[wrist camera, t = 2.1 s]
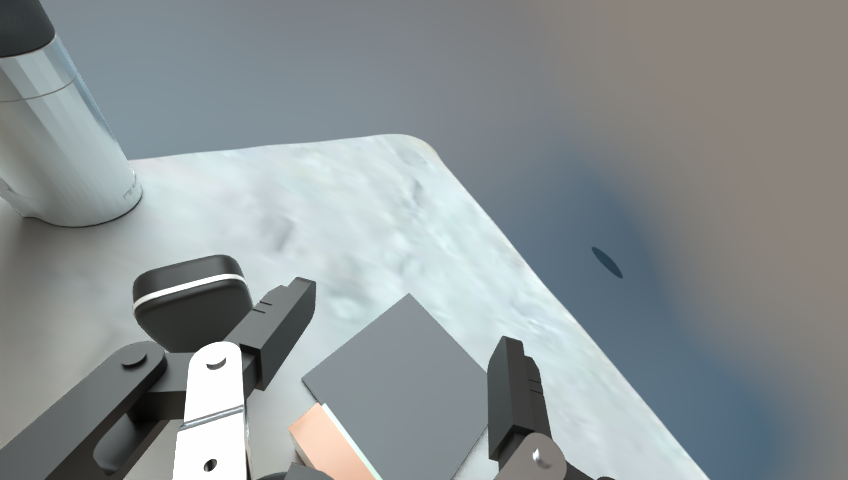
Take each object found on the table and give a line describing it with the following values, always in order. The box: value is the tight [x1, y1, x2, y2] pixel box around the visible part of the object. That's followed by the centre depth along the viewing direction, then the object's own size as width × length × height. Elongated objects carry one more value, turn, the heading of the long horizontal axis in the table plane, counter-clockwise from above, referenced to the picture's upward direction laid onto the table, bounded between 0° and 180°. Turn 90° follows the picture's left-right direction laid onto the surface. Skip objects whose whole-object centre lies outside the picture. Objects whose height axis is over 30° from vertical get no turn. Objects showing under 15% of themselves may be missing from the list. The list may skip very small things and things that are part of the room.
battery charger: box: [133, 255, 254, 353], centre depth 26 cm, size 7×4×11 cm, turn 121°
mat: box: [302, 293, 488, 480], centre depth 32 cm, size 15×16×1 cm
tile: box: [288, 402, 382, 480], centre depth 22 cm, size 2×7×12 cm, turn 47°
